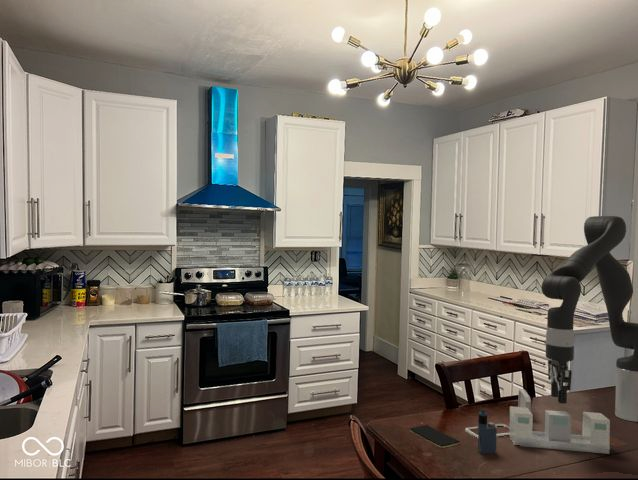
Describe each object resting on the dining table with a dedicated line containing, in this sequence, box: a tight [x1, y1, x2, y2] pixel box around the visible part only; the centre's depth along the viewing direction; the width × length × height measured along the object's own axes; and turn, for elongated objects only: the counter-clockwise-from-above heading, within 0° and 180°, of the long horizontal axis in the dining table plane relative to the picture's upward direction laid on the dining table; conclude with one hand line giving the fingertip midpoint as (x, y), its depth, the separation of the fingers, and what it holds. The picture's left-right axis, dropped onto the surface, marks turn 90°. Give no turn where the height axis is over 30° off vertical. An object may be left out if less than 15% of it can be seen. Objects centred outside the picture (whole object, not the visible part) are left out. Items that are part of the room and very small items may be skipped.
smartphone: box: [409, 424, 461, 449], centre depth 149 cm, size 7×1×15 cm
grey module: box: [544, 409, 572, 442], centre depth 145 cm, size 6×4×8 cm
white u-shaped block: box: [508, 405, 611, 455], centre depth 146 cm, size 26×7×10 cm, turn 81°
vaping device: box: [477, 408, 498, 455], centre depth 139 cm, size 3×5×12 cm, turn 95°
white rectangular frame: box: [464, 423, 510, 439], centre depth 154 cm, size 7×1×15 cm
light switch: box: [517, 388, 532, 413], centre depth 172 cm, size 2×12×8 cm, turn 169°
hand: (558, 399), depth 146 cm, fingers open, 5 cm apart
